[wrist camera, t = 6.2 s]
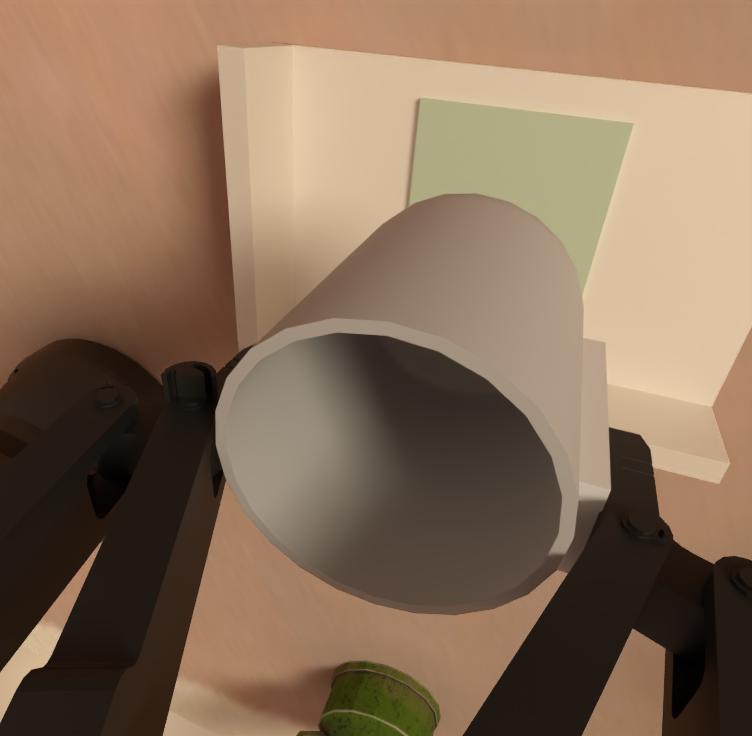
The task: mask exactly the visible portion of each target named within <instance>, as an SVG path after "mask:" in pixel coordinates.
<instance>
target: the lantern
mask: <svg viewBox="0 0 752 736" xmlns="http://www.w3.org/2000/svg"><path fill="white" fill-rule="evenodd" d="M331 689H332V690H331V693H330V696H329V698H328V701H327V703H326V706H325V708H324V711H323V714H322V716H321V719H320V721H319V724H318V726H319V730H320V731H300V732H299V733H298V734H297V736H433V733H434V730H435V729H436V727H437V726H438V723H439V721H440V710H439V704H438V703H437V702H436V700H435V699H434V697H433V696H432V695H431V693H430V692H429V690H427V689H426V688H425V687H424V686H422V685H421V684H420V683H419V682H417V681H416V680H415V679H413V678H412V677H411V676H409V675H407V674H405V673H402V672H400V671H398V670H396V669H394V668H392V667H390V666H386V665H382V664H378V663H373V662H369V661H357V662H348V663H346V664H344V665H342V666H340V667H338V668H337V669H336V671H335V674H334V676H333V679H332V683H331Z"/></svg>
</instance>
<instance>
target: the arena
mask: <svg viewBox="0 0 752 736" xmlns="http://www.w3.org/2000/svg"><path fill="white" fill-rule="evenodd" d="M217 53H218V67H219V81H220V95H221V110H222V124H223V138H224V152H225V166H226V181H227V195H228V209H229V223H230V237H231V252H232V266H233V280H234V294H235V308H236V323H237V337H238V351H239V352H240V351H242V350H243V349H245V348H247V347H249V346H251V345H254V344H256V343H257V342H258V341H259V340H260V339H261V338H262V337H263V336H265V335H266V334H267V333H268V332H269V331H270V330H271V329H272V328H273V327H274V326H275V325H276V324H277V323H278V322H279V321H280V320H281V319H282V318H284V317H285V316H286V315H287V314H288V313H289V312H290V311H291V310H292V309H293V308H294V307H295V306H296V305H297V304H298V303H299V302H300V301H301V300H303V299H304V298H305V297H306V296H307V295H308V294H309V293H310V292H311V291H312V290H313V289H314V288H315V287H316V286H317V285H318V284H319V283H320V282H322V281H323V280H324V279H325V278H326V277H327V276H328V275H329V274H330V273H331V272H332V271H333V270H334V269H335V268H336V267H337V266H338V265H339V264H341V263H342V262H343V261H344V260H345V259H346V258H347V257H348V256H349V255H350V254H351V253H352V252H353V251H354V250H355V249H356V248H357V247H358V246H360V245H361V244H362V243H363V242H364V241H365V240H366V239H367V238H368V237H369V236H370V235H371V234H372V233H373V232H374V231H375V230H376V229H377V228H379V227H380V226H381V225H382V224H383V223H385V222H386V221H388V220H389V219H391V218H392V217H394V216H395V215H397V214H398V213H400V212H402V211H403V210H405V209H406V208H408V207H409V201H410V192H411V182H412V173H413V163H414V154H415V144H416V135H417V125H418V116H419V107H420V98H430V99H438V100H446V101H455V102H463V103H471V104H479V105H487V106H496V107H504V108H512V109H520V110H528V111H537V112H545V113H553V114H561V115H569V116H578V117H586V118H594V119H602V120H611V121H619V122H627V123H633V124H634V125H633V128H632V131H631V135H630V138H629V141H628V145H627V148H626V151H625V155H624V158H623V161H622V165H621V168H620V171H619V175H618V178H617V181H616V185H615V188H614V191H613V195H612V198H611V201H610V205H609V208H608V211H607V215H606V218H605V221H604V225H603V228H602V231H601V235H600V238H599V241H598V245H597V248H596V251H595V255H594V258H593V261H592V265H591V268H590V271H589V275H588V278H587V281H586V285H585V288H584V291H583V295H582V299H583V306H584V319H583V338H586V339H591V340H596V341H601V342H605V344H606V371H607V397H608V424H609V427H611V428H615V429H619V430H623V431H627V432H631V433H635V434H640V435H641V436H642V438H643V439H644V441H645V442H646V443H647V445H648V446H649V448H650V449H651V457H652V466H653V467H654V468H658V469H662V470H666V471H670V472H674V473H677V474H681V475H685V476H689V477H693V478H697V479H701V480H705V481H709V482H713V483H717V484H719V483H720V481H721V479H722V477H723V476H724V474H725V472H726V470H727V468H728V467H729V465H730V462H729V459H728V456H727V453H726V450H725V447H724V444H723V441H722V437H721V434H720V431H719V428H718V425H717V422H716V419H715V416H714V413H713V410H712V405H713V403H714V401H715V399H716V397H717V395H718V393H719V391H720V389H721V387H722V385H723V383H724V381H725V379H726V377H727V375H728V373H729V371H730V369H731V367H732V365H733V363H734V361H735V359H736V357H737V355H738V353H739V351H740V349H741V347H742V345H743V343H744V341H745V339H746V337H747V335H748V333H749V331H750V329H751V327H752V93H747V92H738V91H728V90H719V89H709V88H700V87H690V86H681V85H671V84H662V83H652V82H643V81H633V80H624V79H614V78H605V77H595V76H586V75H576V74H567V73H557V72H548V71H538V70H529V69H519V68H510V67H500V66H491V65H481V64H472V63H462V62H453V61H443V60H434V59H424V58H415V57H405V56H396V55H386V54H377V53H367V52H358V51H349V50H339V49H330V48H320V47H311V46H301V45H292V44H282V43H257V44H234V45H217Z"/></svg>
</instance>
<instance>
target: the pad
mask: <svg viewBox="0 0 752 736" xmlns="http://www.w3.org/2000/svg"><path fill="white" fill-rule="evenodd" d="M633 125H634V124H633V123H627V122H619V121H611V120H602V119H594V118H586V117H578V116H569V115H561V114H553V113H545V112H537V111H528V110H520V109H512V108H504V107H496V106H487V105H479V104H471V103H463V102H455V101H446V100H438V99H430V98H420V107H419V116H418V125H417V135H416V144H415V154H414V163H413V173H412V182H411V192H410V201H409V206H411V205H412V204H414V203H416V202H420V201H423V200H426V199H430V198H433V197H436V196H440V195H443V194H473V193H477V194H481V195H485V196H489V197H493V198H497V199H501V200H505V201H509V202H511V203H513V204H514V205H516V206H518V207H520V208H521V209H523V210H525V211H527V212H528V213H530V214H532V215H534V216H536V217H537V218H539V219H540V220H541V221H542V222H543V223H544V224H545V225H546V226H547V227H548V228H549V229H550V230H551V231H552V232H553V233H554V234H555V235H556V236H557V237H558V238H559V239H560V240H561V242H562V244H563V245H564V247H565V249H566V251H567V253H568V255H569V256H570V258H571V260H572V262H573V264H574V266H575V268H576V270H577V275H578V280H579V285H580V289H581V294H582V295H583V291H584V288H585V285H586V281H587V278H588V275H589V271H590V268H591V265H592V261H593V258H594V255H595V251H596V248H597V245H598V241H599V238H600V235H601V231H602V228H603V225H604V221H605V218H606V215H607V211H608V208H609V205H610V201H611V198H612V195H613V191H614V188H615V185H616V181H617V178H618V175H619V171H620V168H621V165H622V161H623V158H624V155H625V151H626V148H627V145H628V141H629V138H630V135H631V131H632V128H633Z"/></svg>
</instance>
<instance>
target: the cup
mask: <svg viewBox="0 0 752 736" xmlns="http://www.w3.org/2000/svg"><path fill="white" fill-rule="evenodd" d="M583 319H584V306H583V299H582V294H581V289H580V285H579V280H578V275H577V270H576V268H575V266H574V264H573V262H572V260H571V258H570V256H569V255H568V253H567V251H566V249H565V247H564V245H563V244H562V242H561V240H560V239H559V238H558V237H557V236H556V235H555V234H554V233H553V232H552V231H551V230H550V229H549V228H548V227H547V226H546V225H545V224H544V223H543V222H542V221H541V220H540V219H539V218H537V217H536V216H534V215H532V214H530V213H528V212H527V211H525V210H523V209H521V208H520V207H518V206H516V205H514V204H513V203H511V202H509V201H505V200H501V199H497V198H493V197H489V196H485V195H481V194H477V193H473V194H443V195H440V196H436V197H433V198H430V199H426V200H423V201H420V202H416V203H414V204H412V205H411V206H409V207H408V208H406V209H405V210H403V211H402V212H400V213H398V214H397V215H395V216H394V217H392V218H391V219H389V220H388V221H386V222H385V223H383V224H382V225H381V226H380V227H379V228H377V229H376V230H375V231H374V232H373V233H372V234H371V235H370V236H369V237H368V238H367V239H366V240H365V241H364V242H363V243H362V244H361V245H360V246H358V247H357V248H356V249H355V250H354V251H353V252H352V253H351V254H350V255H349V256H348V257H347V258H346V259H345V260H344V261H343V262H342V263H341V264H339V265H338V266H337V267H336V268H335V269H334V270H333V271H332V272H331V273H330V274H329V275H328V276H327V277H326V278H325V279H324V280H323V281H322V282H320V283H319V284H318V285H317V286H316V287H315V288H314V289H313V290H312V291H311V292H310V293H309V294H308V295H307V296H306V297H305V298H304V299H303V300H301V301H300V302H299V303H298V304H297V305H296V306H295V307H294V308H293V309H292V310H291V311H290V312H289V313H288V314H287V315H286V316H285V317H284V318H282V319H281V320H280V321H279V322H278V323H277V324H276V325H275V326H274V327H273V328H272V329H271V330H270V331H269V332H268V333H267V334H266V335H265V336H263V337H262V338H261V339H260V340H259V341H258V342H257V343H256V344H255V345H254V346H253V347H252V348H251V349H250V350H249V351H248V352H247V354H246V355H245V356H244V357H243V358H242V360H241V361H240V362H239V363H238V365H237V366H236V367H235V368H234V369H233V371H232V372H231V373H230V374H229V376H228V377H227V378H226V381H225V384H224V387H223V390H222V393H221V396H220V399H219V402H218V405H217V408H216V411H215V418H216V448H217V451H218V455H219V458H220V461H221V465H222V468H223V472H224V475H225V478H226V481H227V483H228V484H229V486H230V488H231V490H232V491H233V493H234V495H235V497H236V498H237V500H238V502H239V504H240V505H241V507H242V509H243V511H244V512H245V514H246V515H247V516H248V517H249V518H250V519H251V521H252V522H253V523H254V524H255V525H256V526H257V528H258V529H259V530H260V531H261V532H262V533H263V535H264V536H265V537H266V538H267V539H268V540H269V542H270V543H272V544H273V545H274V546H275V547H276V548H278V549H279V550H280V551H281V552H282V553H284V554H285V555H286V556H287V557H289V558H290V559H291V560H292V561H293V562H295V563H296V564H297V565H298V566H299V567H301V568H302V569H304V570H306V571H307V572H309V573H311V574H312V575H314V576H316V577H317V578H319V579H321V580H322V581H324V582H326V583H327V584H329V585H331V586H333V587H334V588H336V589H338V590H341V591H343V592H346V593H348V594H351V595H353V596H356V597H358V598H361V599H363V600H366V601H368V602H371V603H373V604H377V605H381V606H386V607H390V608H394V609H399V610H403V611H408V612H412V613H424V614H445V615H458V614H464V613H471V612H477V611H484V610H490V609H495V608H497V607H499V606H502V605H504V604H506V603H509V602H511V601H513V600H516V599H518V598H520V597H523V596H525V595H527V594H529V593H530V592H531V591H533V590H534V589H535V588H536V587H537V586H538V585H540V584H541V583H542V582H543V581H544V580H546V579H547V578H548V577H549V576H550V575H551V574H553V573H554V572H555V571H556V570H557V568H558V566H559V565H560V563H561V561H562V559H563V557H564V555H565V553H566V552H567V550H568V548H569V546H570V544H571V542H572V541H573V539H574V534H575V525H576V517H577V509H578V500H579V470H580V432H581V395H582V357H583Z"/></svg>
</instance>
